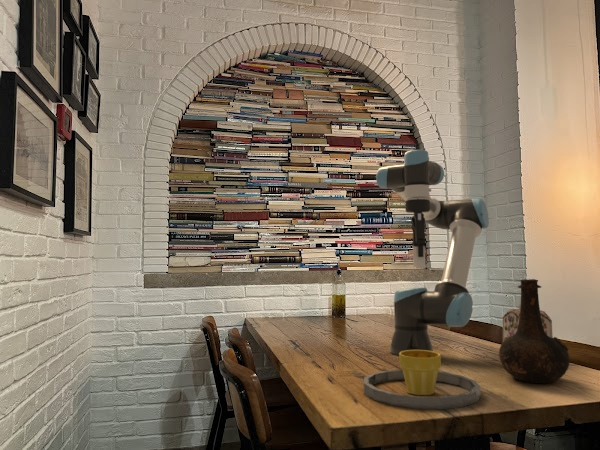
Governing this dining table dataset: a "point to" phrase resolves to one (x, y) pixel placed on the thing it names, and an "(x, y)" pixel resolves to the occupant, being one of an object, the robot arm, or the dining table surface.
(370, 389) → the centring collar
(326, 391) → the dining table surface
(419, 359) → the plant pot
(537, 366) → the glass bottle
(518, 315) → the decorative jar
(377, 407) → the dining table surface
